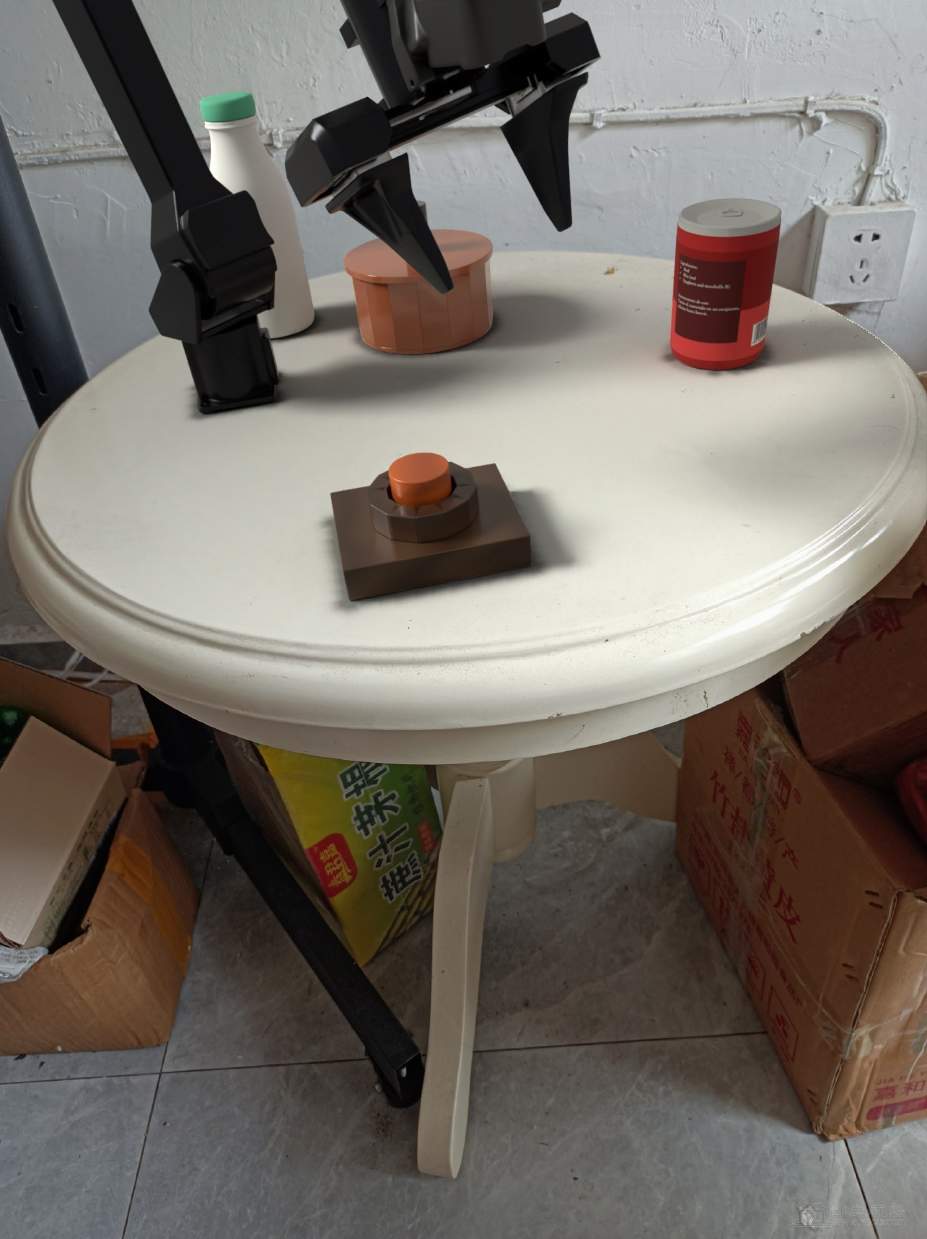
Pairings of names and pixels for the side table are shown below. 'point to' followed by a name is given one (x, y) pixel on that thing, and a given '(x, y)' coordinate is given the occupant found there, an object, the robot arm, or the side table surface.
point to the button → (420, 479)
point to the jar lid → (389, 268)
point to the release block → (428, 534)
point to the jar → (424, 313)
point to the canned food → (723, 281)
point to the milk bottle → (261, 203)
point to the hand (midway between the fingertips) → (508, 259)
